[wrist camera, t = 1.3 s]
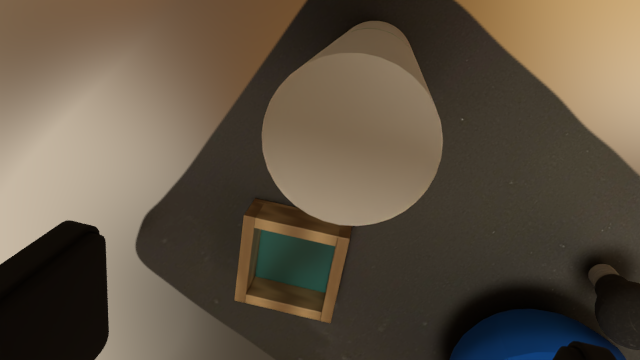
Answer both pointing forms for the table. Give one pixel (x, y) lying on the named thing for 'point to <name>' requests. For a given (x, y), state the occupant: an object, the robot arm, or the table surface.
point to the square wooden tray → (290, 260)
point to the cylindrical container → (354, 129)
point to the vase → (525, 337)
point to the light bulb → (617, 305)
